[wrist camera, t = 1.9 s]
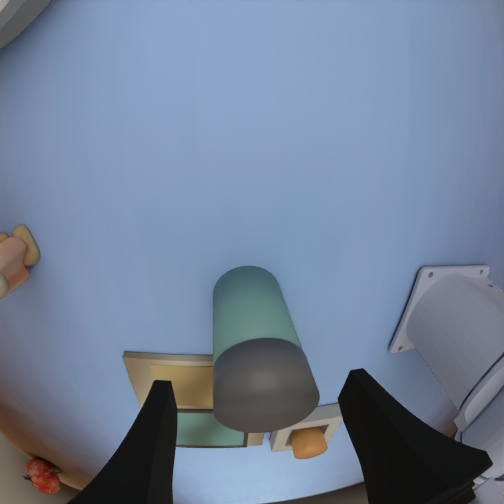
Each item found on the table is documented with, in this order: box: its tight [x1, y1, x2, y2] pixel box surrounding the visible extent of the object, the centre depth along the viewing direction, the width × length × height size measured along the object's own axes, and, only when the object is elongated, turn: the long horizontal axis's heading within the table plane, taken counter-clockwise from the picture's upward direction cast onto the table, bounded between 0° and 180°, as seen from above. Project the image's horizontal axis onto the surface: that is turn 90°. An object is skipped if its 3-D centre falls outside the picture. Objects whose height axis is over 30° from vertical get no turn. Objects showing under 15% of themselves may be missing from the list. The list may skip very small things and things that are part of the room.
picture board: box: [123, 351, 264, 448], centre depth 21 cm, size 11×14×1 cm
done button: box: [290, 426, 327, 459], centre depth 22 cm, size 3×3×2 cm
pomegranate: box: [22, 458, 62, 494], centre depth 26 cm, size 7×7×10 cm
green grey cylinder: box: [212, 266, 320, 433], centre depth 13 cm, size 4×4×8 cm
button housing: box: [269, 403, 343, 452], centre depth 24 cm, size 6×6×2 cm
